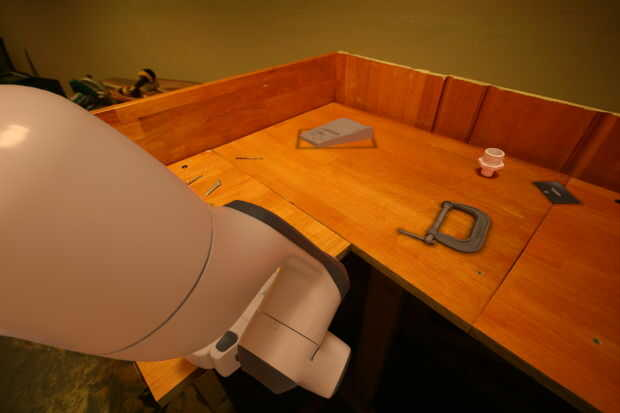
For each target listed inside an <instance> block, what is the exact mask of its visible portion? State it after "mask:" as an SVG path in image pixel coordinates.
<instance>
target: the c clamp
mask: <svg viewBox="0 0 620 413" xmlns="http://www.w3.org/2000/svg"><path fill="white" fill-rule="evenodd" d="M441 206H442V208H441V211H440V212H439V215H438V217H437V218H436V219H435V222H434V223H433V225H432V227H430V228H428V230H427V232H426V234H425V237H423V236H420V235H416V234H414V233H411V232H407V231H405V230H403V229H399V230H398V233H400V234H403V235H406V236H409V237H411V238H415V239H417V240H421V241H423V242H424V244H426V245H434V244H436V241H437V242H439V243H440V244H442V245H444V246H446V247H448V248H450V249H453V250H455V251H457V252H460V253H465V254H472V253H476V252H478V251H480V250H481V248H482V247H483V244H484V241H485V238H486V236H487V233H488V230H489V227H490V225H491V221H490V218H489V216H488V215H487V214H486V213H485V212H484V211H483V210H481V209H480V208H477V207H474V206H473V205H472V206H471V205H468V204H464V203H460V202H452V201H451V200H448V199H447V200H442V203H441ZM453 209H454V210H458V211H460V212H464V213H467V214H469V215H471V216H472V217H473V218H474V219H475V221H474V224H473V226H472V229H471V231H470V234H469V236H468V238H466V239H460V238H457V237H455V236H452V235H450V234H447V233H445V232H440V231H438V230H439V228H440V226H441V224H443V223H442V222H443V221H444V220H445V217H446V215H447V213H448V211H452V210H453Z"/></svg>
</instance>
